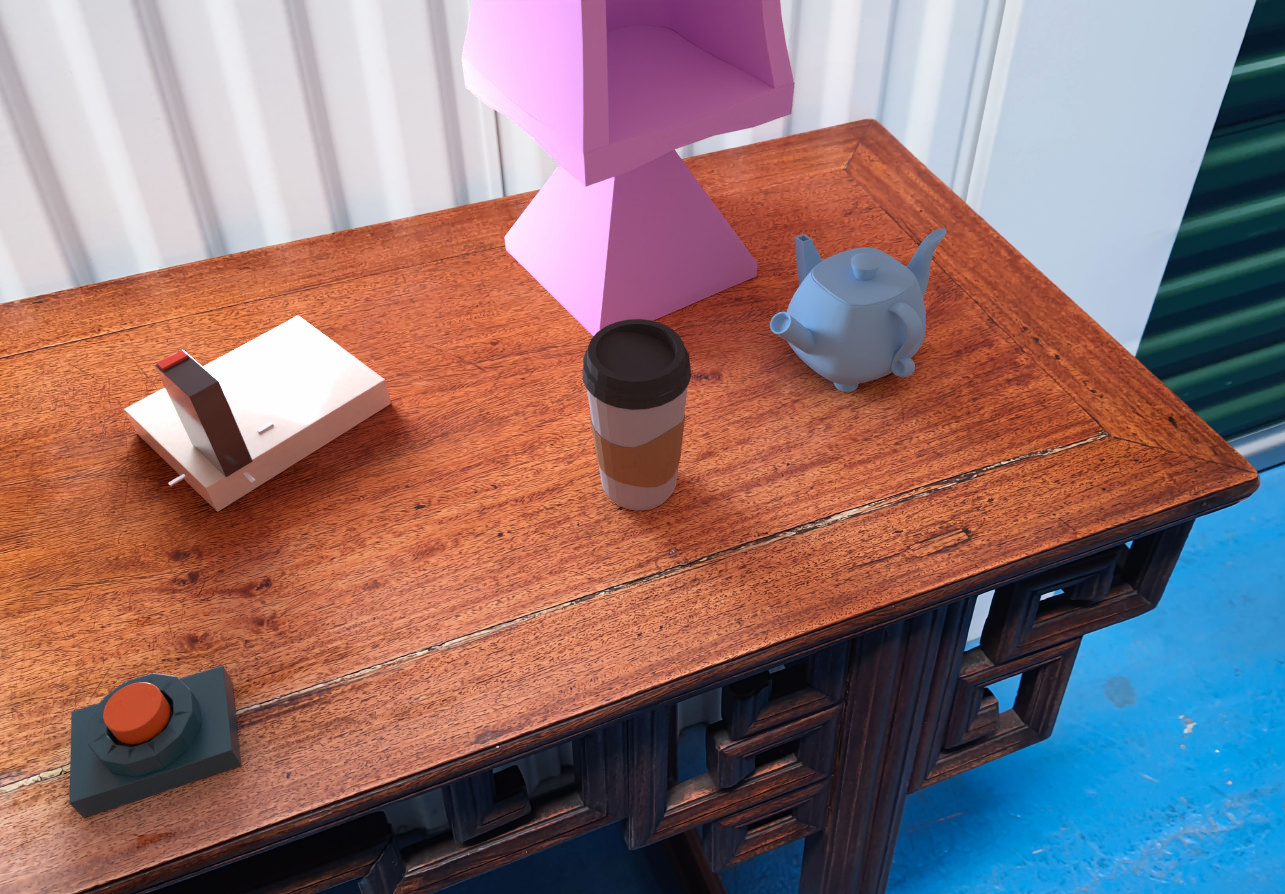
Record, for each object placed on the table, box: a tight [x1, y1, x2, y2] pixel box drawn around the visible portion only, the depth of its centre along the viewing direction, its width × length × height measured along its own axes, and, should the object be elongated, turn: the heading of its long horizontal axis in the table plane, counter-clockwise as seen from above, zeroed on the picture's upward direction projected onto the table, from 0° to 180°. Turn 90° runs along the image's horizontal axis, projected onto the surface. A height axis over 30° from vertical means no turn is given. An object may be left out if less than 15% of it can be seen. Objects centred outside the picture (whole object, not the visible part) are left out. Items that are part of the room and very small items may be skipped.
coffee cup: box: [581, 319, 692, 512], centre depth 79 cm, size 8×8×15 cm
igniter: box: [68, 664, 242, 819], centre depth 67 cm, size 10×7×4 cm
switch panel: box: [123, 315, 392, 513], centre depth 89 cm, size 20×16×3 cm
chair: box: [461, 0, 795, 337], centre depth 91 cm, size 22×22×45 cm
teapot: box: [769, 227, 947, 393], centre depth 92 cm, size 15×14×11 cm
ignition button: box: [103, 682, 171, 744], centre depth 65 cm, size 4×4×2 cm
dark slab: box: [154, 349, 253, 477], centre depth 80 cm, size 6×2×9 cm, turn 47°
